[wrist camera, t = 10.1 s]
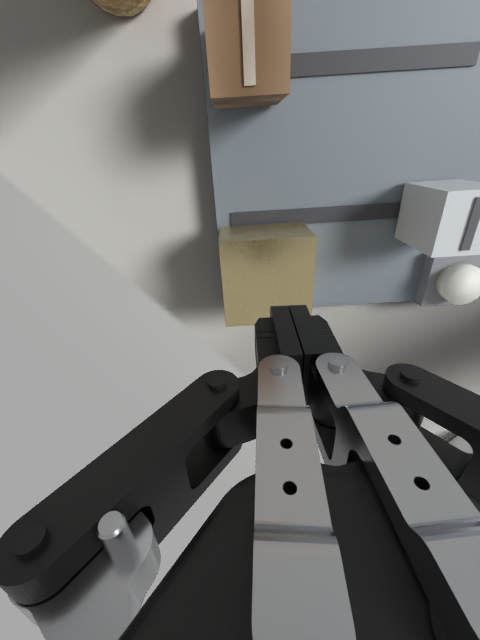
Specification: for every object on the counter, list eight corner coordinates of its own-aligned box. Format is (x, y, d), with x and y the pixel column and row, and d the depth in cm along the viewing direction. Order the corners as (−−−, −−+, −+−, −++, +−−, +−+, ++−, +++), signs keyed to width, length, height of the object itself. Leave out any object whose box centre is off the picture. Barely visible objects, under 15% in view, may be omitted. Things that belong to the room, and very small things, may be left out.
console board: (568, -17, 17) (679, -70, 12) (465, 289, 25) (510, 316, 21) (198, 7, 17) (188, -38, 13) (225, 303, 26) (223, 333, 21)
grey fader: (459, 179, 20) (518, 187, 16) (444, 234, 21) (494, 254, 17) (405, 182, 20) (449, 191, 16) (394, 237, 21) (432, 258, 17)
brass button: (302, 221, 20) (316, 236, 17) (299, 296, 23) (310, 321, 20) (220, 226, 20) (218, 242, 17) (226, 300, 23) (225, 326, 20)
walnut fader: (276, 22, 16) (292, -21, 12) (276, 105, 17) (290, 92, 13) (208, 26, 16) (201, -15, 12) (215, 109, 17) (210, 98, 13)
